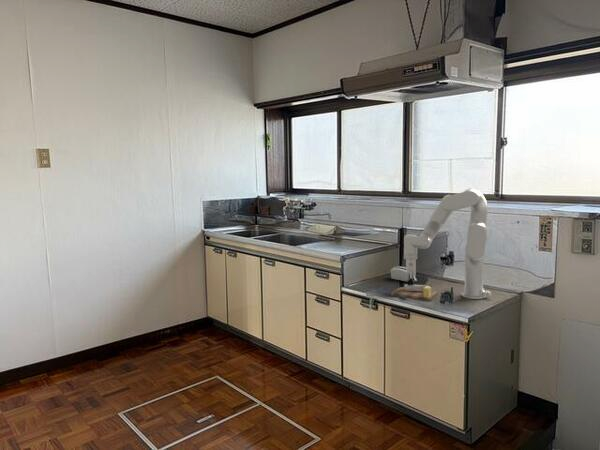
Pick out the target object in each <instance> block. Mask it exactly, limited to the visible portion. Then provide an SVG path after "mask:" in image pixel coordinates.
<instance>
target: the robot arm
mask: <svg viewBox="0 0 600 450" xmlns="http://www.w3.org/2000/svg"><path fill="white" fill-rule="evenodd" d="M469 207H470V215H469V224H468V228H467V237H466V244H465V247H464V259H465V260H464V291H463V292H461V296H462V297H463V298H465V299H470V300H471V299H472V300H481V299H482V300H483V299H485V298H487V297H486V296H489V297H490V296H492V292H491V291H489V290H486V289H485V287H484V263H485V262H484V256H485V252H486V246H487V245H486V244H487V238H488V237H487V236H488V229H487V219H488V210H489V208H488V202H487V199H486V198H485V196H484V194H482V192H480V191H479V190H477V189H475V188H468V189H466V190H464V191H462V192H458V193H454V194H446V195H444V196H443V197H442V199H441V200H440V202H439V203H438V205H437V206H436V208H435V209H434V212H433V213H432V214H431V216H430V218H429V221H428V222H427V224H426V225H425V227H424V229H423V230H422V232H421V233H420V235H417V234H413V233H412V234H411V233H409V234H405V235H404V237H403V245H404V246H403V260H405V265H406V266H405V268H406V271H407V276H408V282H407V284H409V285H414V282H413V275H414V276H415V277H416V276H417V275H416V274H417V273H416V272H417V271H416V269H417V266H416V265H417V264H416V260H417V259H418V249H428V248H429V247H430V246H431V244H432V242H433V240H434V238H435V237H436V236H437V234H438V233H439V231H440V230H441V228H443V227H444V226H445V225H446V223H447V222H448V220H449V218H450V217H451V215H452V213H453V212H454V211H459V210H462V209H466V208H469Z"/></svg>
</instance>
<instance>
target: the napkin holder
mask: <svg viewBox="0 0 600 450" xmlns="http://www.w3.org/2000/svg"><path fill="white" fill-rule="evenodd" d="M390 278H391V279H393V280H397V281H398V280H399V281H403V282H407V283H408V276H407V271H406V266H394V267H392V268H391V269H390ZM417 281H418V280H417V278H416V276H414V275H413V283H414V282H417Z"/></svg>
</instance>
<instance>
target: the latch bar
mask: <svg viewBox="0 0 600 450" xmlns="http://www.w3.org/2000/svg"><path fill="white" fill-rule="evenodd" d="M425 286H428V287H430V285H428V284H413V285H409V284H408V283H407V284H405V283H404V286H403V287H404V290H405V291H423V288H424V287H425Z"/></svg>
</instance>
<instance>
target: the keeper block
mask: <svg viewBox="0 0 600 450" xmlns="http://www.w3.org/2000/svg"><path fill="white" fill-rule="evenodd" d="M428 286H429V285H428ZM428 286H425V287H424V288H423V297H428V298H429V297H430V296H431V291H432V287H431V286H429V287H428Z"/></svg>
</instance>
